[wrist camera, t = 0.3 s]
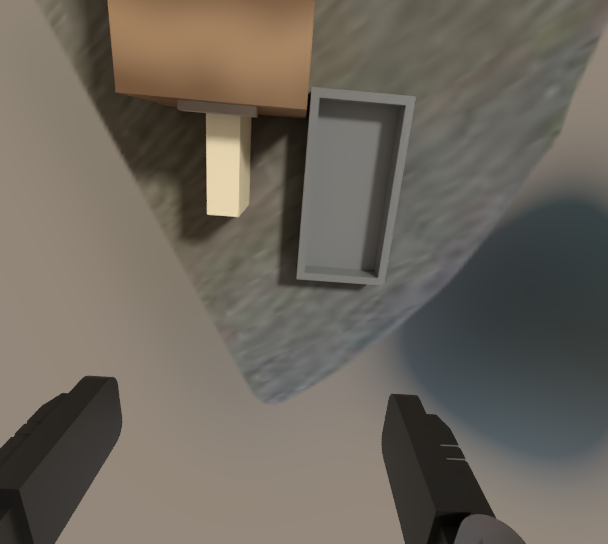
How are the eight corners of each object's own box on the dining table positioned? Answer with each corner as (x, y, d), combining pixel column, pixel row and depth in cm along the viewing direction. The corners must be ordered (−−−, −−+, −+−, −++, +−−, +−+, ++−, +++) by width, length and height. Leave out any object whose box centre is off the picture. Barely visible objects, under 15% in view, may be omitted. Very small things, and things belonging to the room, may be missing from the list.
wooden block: (159, -100, 27) (88, -222, 18) (320, -83, 27) (329, -194, 18) (168, 113, 32) (116, 102, 23) (304, 125, 32) (305, 119, 23)
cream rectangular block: (222, 59, 30) (204, 40, 25) (253, 62, 30) (242, 44, 25) (222, 202, 34) (206, 214, 29) (249, 204, 34) (238, 217, 29)
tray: (310, 91, 31) (311, 86, 29) (406, 100, 31) (416, 96, 29) (296, 269, 37) (296, 279, 34) (378, 275, 37) (384, 285, 34)
